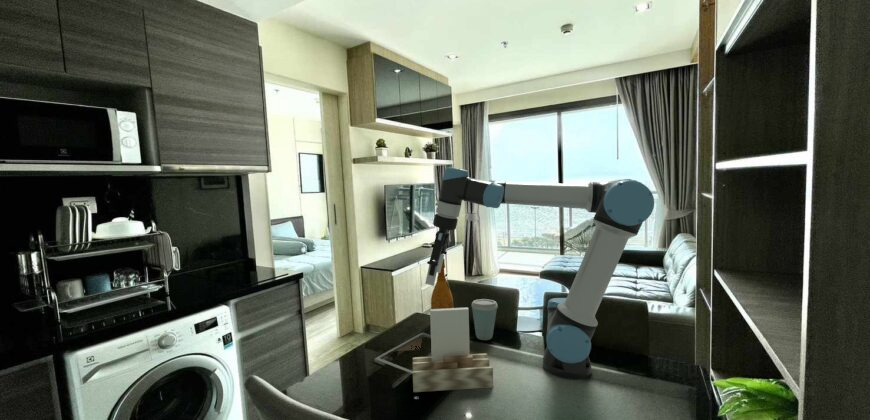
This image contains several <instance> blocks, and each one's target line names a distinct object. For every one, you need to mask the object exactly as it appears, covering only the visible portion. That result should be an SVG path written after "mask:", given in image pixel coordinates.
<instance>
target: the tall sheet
mask: <svg viewBox="0 0 870 420" xmlns="http://www.w3.org/2000/svg"><path fill="white" fill-rule="evenodd" d="M469 316H470V315H469V307H453V308H447V309H431V308H430V309H429V317H430V320H429V321H430V335H431V349H430V350H431V357H432V361H443V356H459V355H470V354H471V353H470V351H471V350H470V349H471V348H470V317H469Z"/></svg>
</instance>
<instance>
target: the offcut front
mask: <svg viewBox="0 0 870 420" xmlns="http://www.w3.org/2000/svg"><path fill="white" fill-rule="evenodd" d="M441 369H458V365H457V362H448V363H434V370H441Z"/></svg>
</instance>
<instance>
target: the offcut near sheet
mask: <svg viewBox="0 0 870 420" xmlns="http://www.w3.org/2000/svg"><path fill="white" fill-rule="evenodd" d="M448 362H457V365H458V368H473V356H472V355H459V356H443V363H448Z"/></svg>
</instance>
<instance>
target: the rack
mask: <svg viewBox="0 0 870 420" xmlns="http://www.w3.org/2000/svg"><path fill="white" fill-rule="evenodd" d="M470 355H472V356H473V368H458V369H441V370H434V363H443V361H432V356H417V357H416V356H415V357H412V371H413V374H412V389H413V393H421V392H437V391H438V392H439V391H453V390H467V389H468V390H469V389H472V390H473V389H487V388H494V367H493V366H490V358H489V357H488V353H470Z"/></svg>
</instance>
